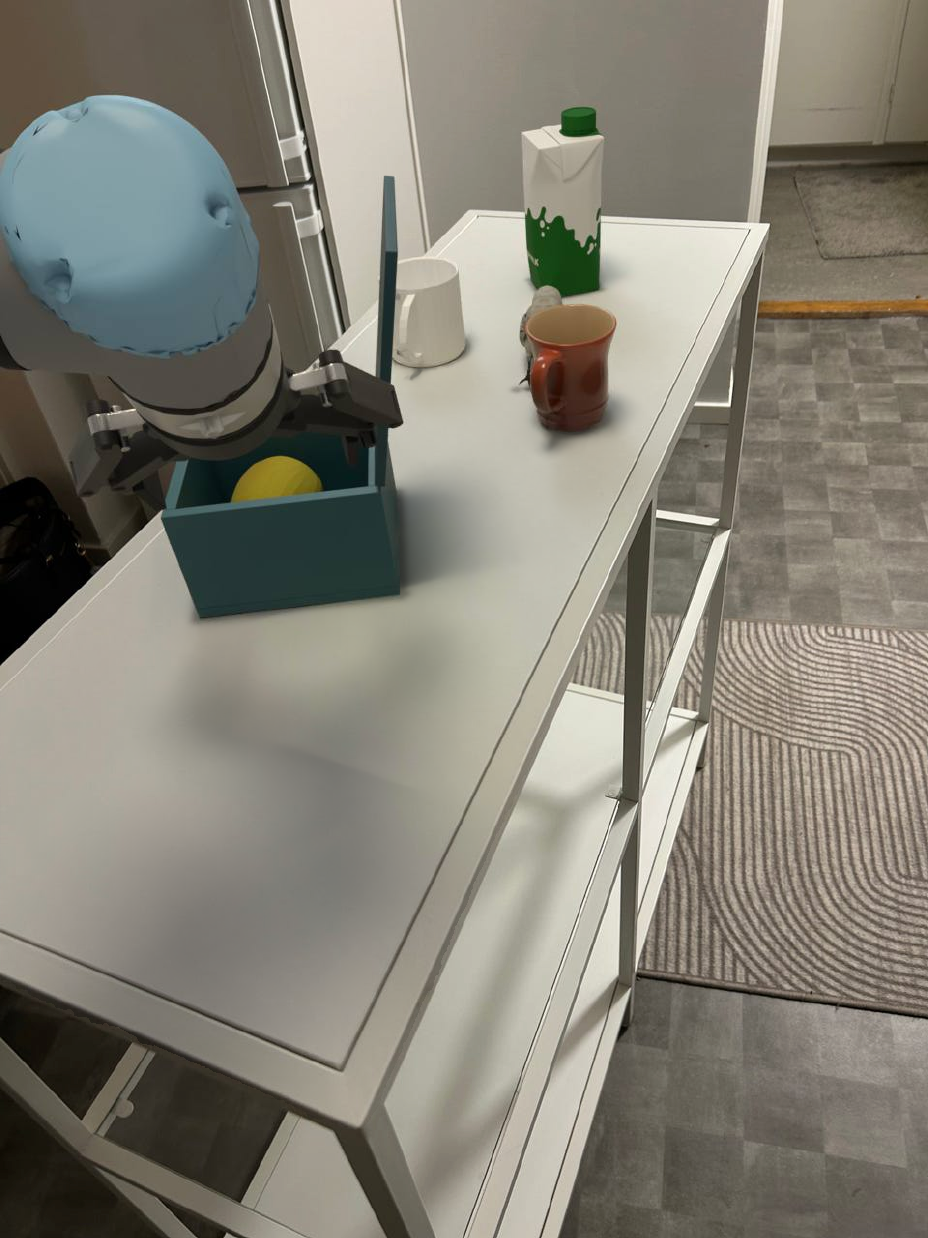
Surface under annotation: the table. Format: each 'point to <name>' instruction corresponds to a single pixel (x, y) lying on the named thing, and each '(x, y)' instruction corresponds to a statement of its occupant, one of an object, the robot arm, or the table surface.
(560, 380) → the mug
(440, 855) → the table surface
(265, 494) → the lemon
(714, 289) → the table surface
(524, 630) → the table surface
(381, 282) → the lid
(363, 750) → the table surface
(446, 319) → the mug
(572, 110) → the soya milk
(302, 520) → the teal box
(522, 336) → the decorative bird
